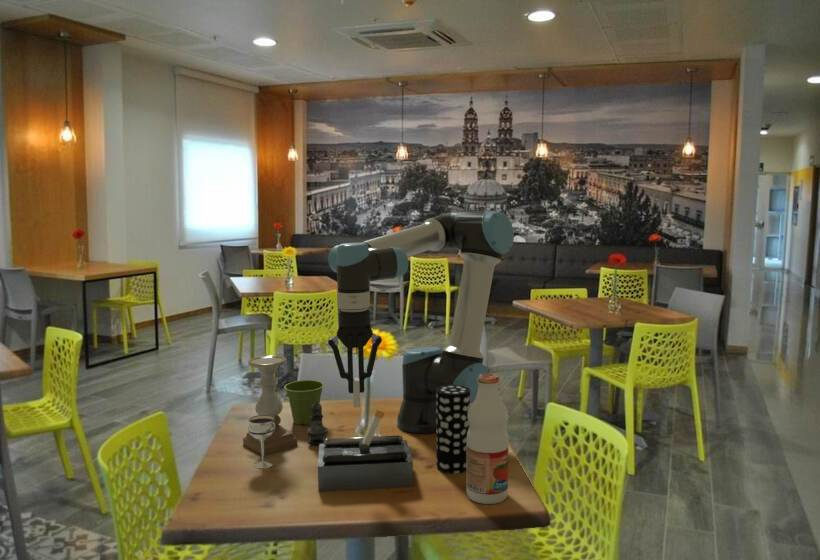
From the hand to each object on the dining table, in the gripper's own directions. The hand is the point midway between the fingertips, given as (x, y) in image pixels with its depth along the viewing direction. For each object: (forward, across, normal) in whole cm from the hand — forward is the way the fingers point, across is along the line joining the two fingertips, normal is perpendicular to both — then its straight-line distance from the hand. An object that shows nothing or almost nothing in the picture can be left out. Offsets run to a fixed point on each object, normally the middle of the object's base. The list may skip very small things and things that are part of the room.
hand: (356, 405), depth 160 cm
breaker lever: (+11, +1, 0) cm, 11 cm away
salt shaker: (+18, -11, +23) cm, 31 cm away
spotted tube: (+18, +24, +3) cm, 30 cm away
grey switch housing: (+18, +1, 0) cm, 18 cm away
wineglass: (+18, -24, +10) cm, 31 cm away
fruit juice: (+18, +29, -14) cm, 37 cm away
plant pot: (+18, -15, +41) cm, 47 cm away
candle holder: (+18, -24, +23) cm, 37 cm away
